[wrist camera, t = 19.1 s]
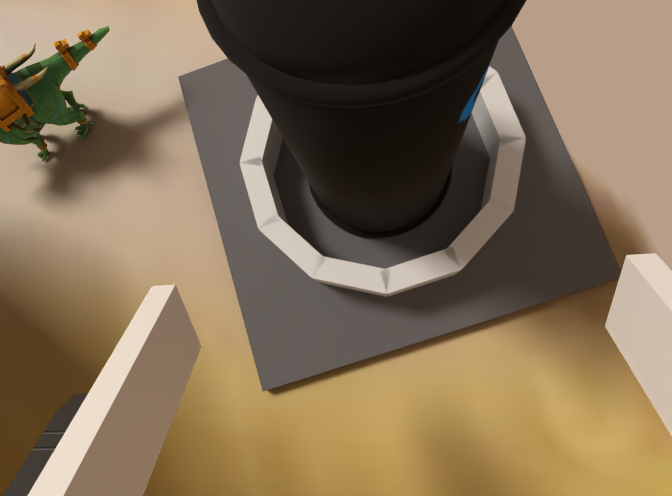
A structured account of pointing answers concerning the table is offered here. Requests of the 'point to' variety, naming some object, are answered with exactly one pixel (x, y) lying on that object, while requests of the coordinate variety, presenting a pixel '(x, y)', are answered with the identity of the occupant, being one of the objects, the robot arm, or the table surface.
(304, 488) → the table surface
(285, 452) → the table surface
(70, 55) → the figurine
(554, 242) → the can holder
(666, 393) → the robot arm
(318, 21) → the aerosol can
